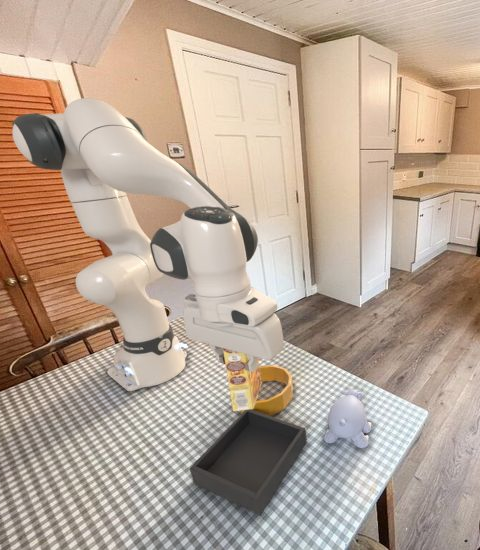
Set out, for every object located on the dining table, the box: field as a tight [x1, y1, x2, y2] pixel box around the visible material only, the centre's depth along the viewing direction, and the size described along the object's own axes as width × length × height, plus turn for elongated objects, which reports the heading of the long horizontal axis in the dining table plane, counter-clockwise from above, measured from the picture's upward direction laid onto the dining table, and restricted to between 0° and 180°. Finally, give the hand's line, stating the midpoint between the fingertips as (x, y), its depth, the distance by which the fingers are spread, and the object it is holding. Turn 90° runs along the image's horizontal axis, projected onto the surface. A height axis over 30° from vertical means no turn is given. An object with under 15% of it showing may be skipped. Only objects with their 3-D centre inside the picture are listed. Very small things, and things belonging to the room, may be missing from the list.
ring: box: [240, 364, 294, 417], centre depth 84 cm, size 15×15×5 cm
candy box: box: [223, 348, 263, 412], centre depth 61 cm, size 9×4×15 cm, turn 9°
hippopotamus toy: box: [323, 388, 373, 449], centre depth 74 cm, size 11×15×10 cm
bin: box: [189, 409, 307, 517], centre depth 66 cm, size 17×17×5 cm
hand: (238, 365), depth 58 cm, fingers closed on candy box, 5 cm apart
